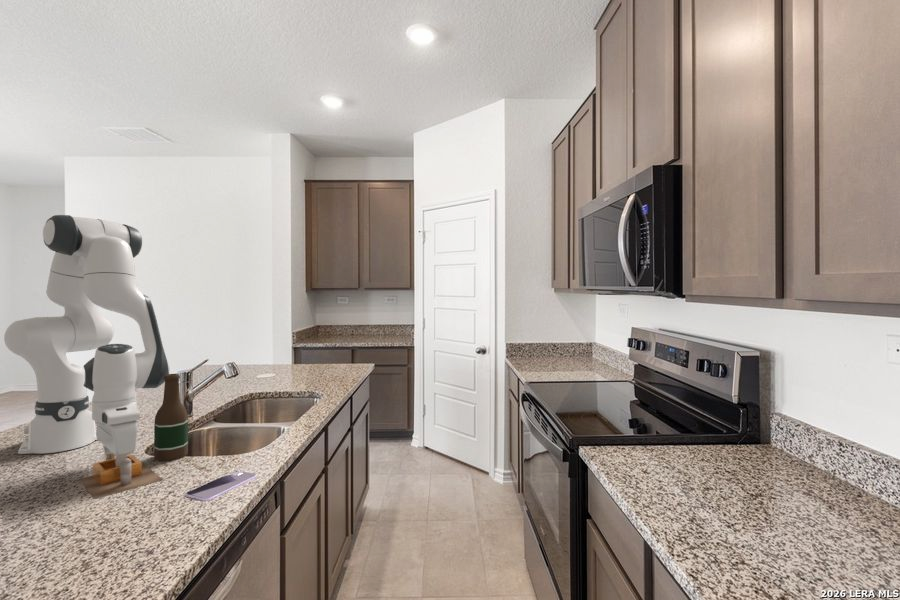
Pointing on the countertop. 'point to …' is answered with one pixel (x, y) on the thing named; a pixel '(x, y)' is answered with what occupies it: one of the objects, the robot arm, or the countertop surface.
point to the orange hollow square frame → (114, 470)
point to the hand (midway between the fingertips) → (114, 464)
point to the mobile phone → (220, 486)
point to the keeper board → (116, 484)
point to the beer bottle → (171, 423)
